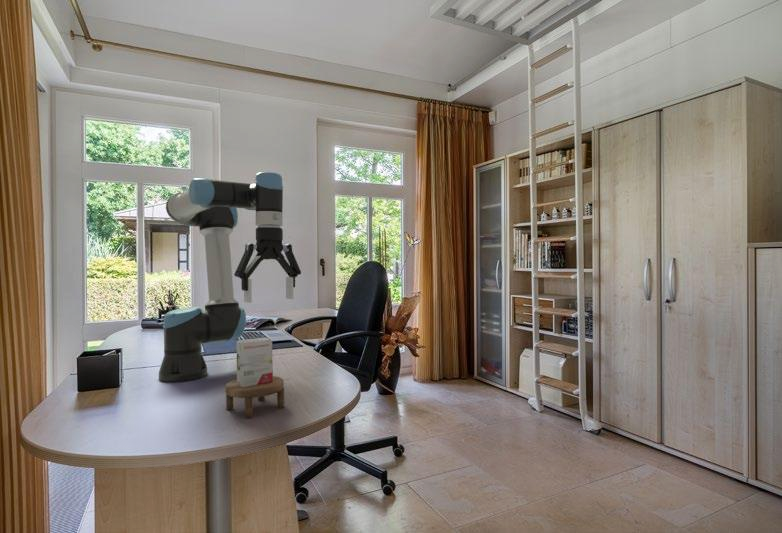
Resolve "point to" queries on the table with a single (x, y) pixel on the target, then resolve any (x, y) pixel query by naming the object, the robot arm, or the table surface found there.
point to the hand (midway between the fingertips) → (269, 300)
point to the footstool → (254, 393)
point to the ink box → (254, 361)
